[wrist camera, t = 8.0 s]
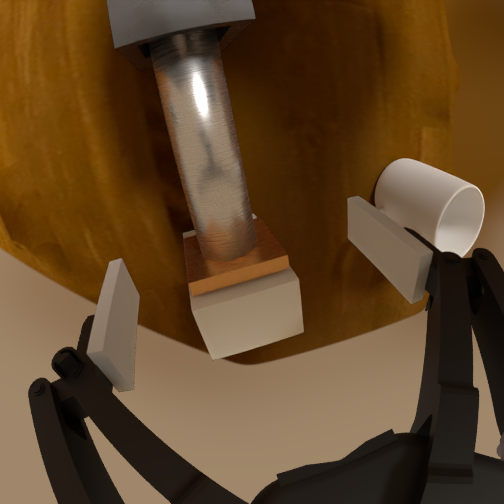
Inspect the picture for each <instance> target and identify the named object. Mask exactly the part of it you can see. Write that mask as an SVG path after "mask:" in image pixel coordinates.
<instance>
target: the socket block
mask: <svg viewBox="0 0 504 504" xmlns="http://www.w3.org/2000/svg"><path fill="white" fill-rule="evenodd" d="M252 215H253V219H255V218H257V217H256V216H255V215H254V214H252ZM193 235H196V232H195V230H192V231H189V232H185V233H183V238H186V237H190V236H193ZM183 241H184V240H183ZM184 251H185V250H184ZM185 260H186V259H185ZM186 269H187V268H186ZM187 278H188V277H187ZM188 286H189V284H188ZM189 294H190V302H191V309H192V313H193V315H194V318H195V320H196V323H197V325H198V327H199V330H200V332H201V335H202V337H203V339H204V342H205V344H206V346H207V349H208V351H209V353H210V356H211V358H212V360H216V359H219V358H223V357H227V356H230V355H234V354H237V353H241V352H244V351H247V350H251V349H254V348H257V347H260V346H264V345H267V344H270V343H273V342H276V341H279V340H282V339H285V338H288V337H291V336H294V335H297V334H300V333H303V332H304V327H303V316H302V305H301V294H300V284H299V279H298V277H297V276H296V274H295V273H294V271H293V270H292V268H291V267H290V265H289V268H288V269H284V270H281V271H278V272H274V273H271V274H268V275H264V276H261V277H258V278H254V279H251V280H247V281H244V282H241V283H237V284H234V285H230V286H227V287H223V288H220V289H216V290H213V291H209V292H206V293H202V294H199V295H195V296H193V295H192V292H191V289H190V287H189Z"/></svg>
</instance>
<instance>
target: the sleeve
mask: <svg viewBox="0 0 504 504" xmlns="http://www.w3.org/2000/svg"><path fill="white" fill-rule="evenodd" d="M107 6H108V12H109V19H110V25H111V31H112V36H113V42H114V47H115V49H116V50H117V51H118V52H119V53H120V54H121V55H123V56H124V57H125V58H126V59H127V60H128V61H129V62H130V63H131V64H133V65H134V66H135V67H136V68H137V69H138V70H139V71H141V70H145V69H148V68H152V67H153V63H152V58H151V53H150V48H149V43H148V42H151V41H155V40H159V39H163V38H167V37H171V36H175V35H180V34H184V33H189V32H194V31H199V30H204V29H210V28H215V29H216V34H217V39H218V44H219V49H220V52H222V51H223V50H224V49H225V48H226V47H227V46H228V45H229V44H230V43H231V42H232V41H233V40H234V39H235V38H236V37H237V36H238V35H239V34H240V33H241V32H242V31H243V30H244V29H245V28H246V27H247V26H248V25H249V24H250V23H252V22H253V21H254V20H255V19H256V18H255V13H254V8H253V4H252V0H107Z"/></svg>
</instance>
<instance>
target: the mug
mask: <svg viewBox="0 0 504 504" xmlns="http://www.w3.org/2000/svg"><path fill="white" fill-rule="evenodd" d="M375 205H376V208H377V209H378V210H379V211H381V212H382V213H384V214H385V215H386V216H388V217H389V218H390V219H392V220H393V221H394V222H396V223H397V224H398V225H400V226H401V227H402V228H404V227H407V228H410V229H412V230H414V231H416V232H417V233H418V234H420V235H421V236H422V237H424V238H425V239H426V240H427V241H429V242H430V243H431V244H433V245H434V246H435V247H436V248H438V249H439V250H440V251H441V252H445V251H450V252H454V253H456V254H458V255H459V256H460V257H461V258H462V257H463V256H464V255H465V254H466V253H467V252H468V250H469V249H470V248H471V247H472V245H473V244H474V242H475V240H476V238H477V236H478V234H479V232H480V229H481V226H482V222H483V217H484V199H483V195H482V193H481V191H480V190H479V189H478V188H477V187H476V186H474V185H472V184H470V183H468V182H466V181H463V180H461V179H459V178H457V177H455V176H453V175H450V174H448V173H446V172H443V171H441V170H439V169H436V168H434V167H431V166H429V165H426V164H424V163H421V162H419V161H416V160H412V159H406V158H404V159H399V160H396V161H394V162H392V163H391V164H389V165H388V166H387V167H386V168H385V169H384V171H383V172H382V174H381V175H380V177H379V179H378V182H377V185H376V189H375Z"/></svg>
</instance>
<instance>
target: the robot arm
mask: <svg viewBox="0 0 504 504" xmlns="http://www.w3.org/2000/svg"><path fill="white" fill-rule="evenodd" d="M347 202H348V239H349V240H350V241H351V242H352V243H353V244H354V245H355V246H356V247H357V248H358V249H359V250H360V251H361V252H362V253H363V254H364V255H365V256H366V257H367V258H368V259H369V260H370V261H371V262H372V263H373V264H374V265H375V266H376V267H377V268H378V269H379V270H380V272H381V273H382V274H383V275H384V276H385V277H386V278H387V279H388V280H389V281H390V282H391V283H392V284H393V285H394V286H395V287H396V288H397V290H398V291H399V292H400V293H401V294H402V295H403V296H404V297H405V298H406V299H407V300H408V302H409V303H410V304H413V303H415V302H417V301H419V300H422V299H423V296H424V292H425V290H426V291H427V292H428V293H429V294H430V295H429V298H428V302H427V305H426V309H425V311H427V310H428V318H427V319H428V320H427V334H426V347H425V357H424V366H423V374H422V381H421V388H420V395H419V401H418V406H417V412H416V417H415V420H414V423H413V425H412V427H411V430H410V433H397V434H394V432H393V430H392V429H391V430H388V431H387V432H384V433H382V434H380V435H378V436H376V437H374V438H372V439H370V440H368V441H366V442H365V443H363V444H362V445H361V446H359V447H358V448H357V449H355V450H354V451H353V452H351V453H350V454H349V455H347V456H346V457H345V458H343V459H341V460H339V461H334V462H327V463H319V464H311V465H305V466H302V467H299V468H296V469H293V470H289V471H286V472H282V473H279V474H277V477H278V479H277V480H276V481H274V482H272V483H270V484H269V485H268V486H266V487H265V488H264V489H263V490H262V491H260V493H259V494H258V495H257V496H256V497H255V499H254V500H253V501H252V503H251V504H504V271H503V269H502V268H501V266H500V264H499V263H498V261H497V259H496V258H495V256H494V255H493V254H492V253H491V252H490V251H489V250H487V249H484V248H476V249H474V250H473V253H472V257H471V258H461V257H460V256H459V255H458V254H456V253H454V252H450V251H445V252H441V251H440V250H439V249H438V248H436V247H435V246H434V245H433V244H431V243H430V242H429V241H427V240H426V239H425V238H424V237H422V236H421V235H420V234H418V233H417V232H416V231H414V230H412V229H410V228H407V227H404V228H402V227H401V226H400V225H398V224H397V223H396V222H394V221H393V220H392V219H390V218H389V217H388V216H386V215H385V214H384V213H382V212H381V211H379V210H378V209H377V208H375V207H374V206H372V205H371V204H370V203H368V202H367V201H365V200H364V199H362V198H361V197H360V196H355V197H350V198H347ZM139 299H140V296H139V294H138V292H137V290H136V287H135V285H134V283H133V281H132V279H131V277H130V275H129V273H128V271H127V268H126V266H125V264H124V262H123V260H122V258H120V259H117V260H113V261H110V262H109V265H108V269H107V272H106V276H105V279H104V283H103V286H102V290H101V293H100V297H99V301H98V305H97V309H96V313H95V315H91V316H88V317H87V319H86V320H85V322H84V323H83V326H82V330H81V334H80V337H79V341H78V346H77V350H75V349H74V348H73V347H65V348H62V349H61V350H59V351H58V352H57V353H56V354H55V356H54V357H53V359H52V364H51V365H52V368H53V370H54V371H55V372H56V373H57V374H58V375H59V376H60V377H61V378H60V379H58V380H57V381H54V382H52V383H50V382H49V381H48V380H47V379H46V378H39V379H37V380H35V381H34V382H33V383H32V384H31V386H30V388H29V391H28V397H29V403H30V408H31V414H32V418H33V423H34V428H35V432H36V436H37V440H38V444H39V448H40V452H41V455H42V458H43V461H44V465H45V468H46V472H47V475H48V477H49V480H50V483H51V486H52V489H53V492H54V494H55V497H56V499H57V502H58V504H125V503H124V501H123V500H122V498H121V496H120V495H119V493H118V491H117V489H116V487H115V486H114V484H113V482H112V480H111V478H110V476H109V474H108V472H107V470H106V468H105V466H104V464H103V462H102V460H101V458H100V456H99V454H98V451H97V449H96V447H95V445H94V443H93V440H92V438H91V435H90V433H89V431H88V428H87V426H86V423H85V421H84V418H86V417H88V416H89V417H90V418H91V420H92V421H93V422H94V423H95V425H96V426H97V427H98V428H99V430H100V431H101V432H102V433H103V434H104V436H105V437H106V438H107V439H108V440H109V442H110V443H111V444H112V445H113V446H114V447H115V448H116V449H117V451H118V452H119V453H120V454H121V455H122V456H123V457H124V458H125V459H126V460H127V461H128V462H129V463H130V465H131V466H132V467H134V469H135V470H136V471H137V472H139V474H140V475H141V476H142V477H143V478H144V479H145V480H146V481H148V482H149V483H150V484H151V485H152V486H153V487H154V488H155V489H156V490H157V491H158V492H160V493H161V494H162V495H163V496H164V497H165V498H166V499H167V500H169V502H170V503H171V504H248V503H247V502H245V501H243V500H242V499H240V498H239V497H237V496H235V495H234V494H232V493H231V492H229V491H228V490H226V489H225V488H223V487H222V486H220V485H219V484H217V483H216V482H215V481H213V480H212V479H210V478H209V477H207V476H206V475H205V474H203V473H202V472H200V471H199V470H198V469H196V468H195V467H194V466H192V465H191V464H190V463H189V462H187V461H186V460H185V459H183V458H182V457H181V456H180V455H179V454H177V453H176V452H175V451H174V450H172V449H171V448H170V447H169V446H168V445H166V444H165V443H164V442H163V441H162V440H161V439H159V438H158V437H157V436H156V435H155V434H154V433H153V432H152V431H151V430H149V429H148V428H147V427H146V426H145V425H144V424H143V423H142V422H141V421H140V420H138V418H137V417H135V415H134V414H133V413H132V412H130V411H129V410H128V409H127V408H126V407H125V406H124V405H123V404H122V402H121V401H120V400H118V398H117V397H116V396H115V395H114V394H113V393H112V389H113V386H114V387H115V388H116V389H117V390H118V392H123V391H129V390H134V370H135V369H134V368H135V349H136V333H137V321H138V309H139ZM471 325H472V327H471ZM472 328H473V331H474V334H475V337H476V340H477V343H478V347H479V350H480V353H481V357H482V360H483V364H484V368H485V372H486V375H487V380H488V384H489V388H490V393H491V397H492V402H493V407H494V413H495V417H496V422H497V425H498V429H499V432H500V435H501V439H500V444H499V446H498V447H497V454H498V456H500V457H501V460H500V459H496V458H493V457H489V456H486V455H482V454H479V453H476V452H474V450H475V442H476V435H477V434H476V433H477V424H478V409H479V390H478V388H475V387H474V386H473V345H472Z"/></svg>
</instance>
